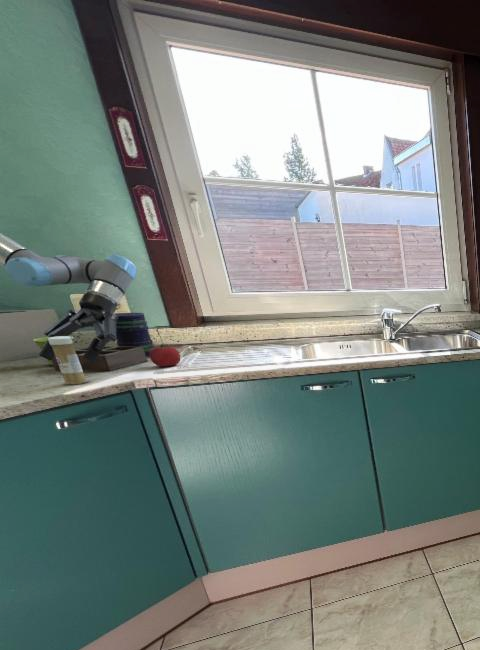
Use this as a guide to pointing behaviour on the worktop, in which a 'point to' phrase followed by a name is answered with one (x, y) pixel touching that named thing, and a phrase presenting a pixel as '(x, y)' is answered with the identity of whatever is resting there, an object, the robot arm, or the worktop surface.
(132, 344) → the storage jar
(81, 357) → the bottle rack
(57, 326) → the robot arm
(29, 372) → the worktop surface
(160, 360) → the tomato
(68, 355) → the sprinkles bottle
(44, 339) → the plant pot
